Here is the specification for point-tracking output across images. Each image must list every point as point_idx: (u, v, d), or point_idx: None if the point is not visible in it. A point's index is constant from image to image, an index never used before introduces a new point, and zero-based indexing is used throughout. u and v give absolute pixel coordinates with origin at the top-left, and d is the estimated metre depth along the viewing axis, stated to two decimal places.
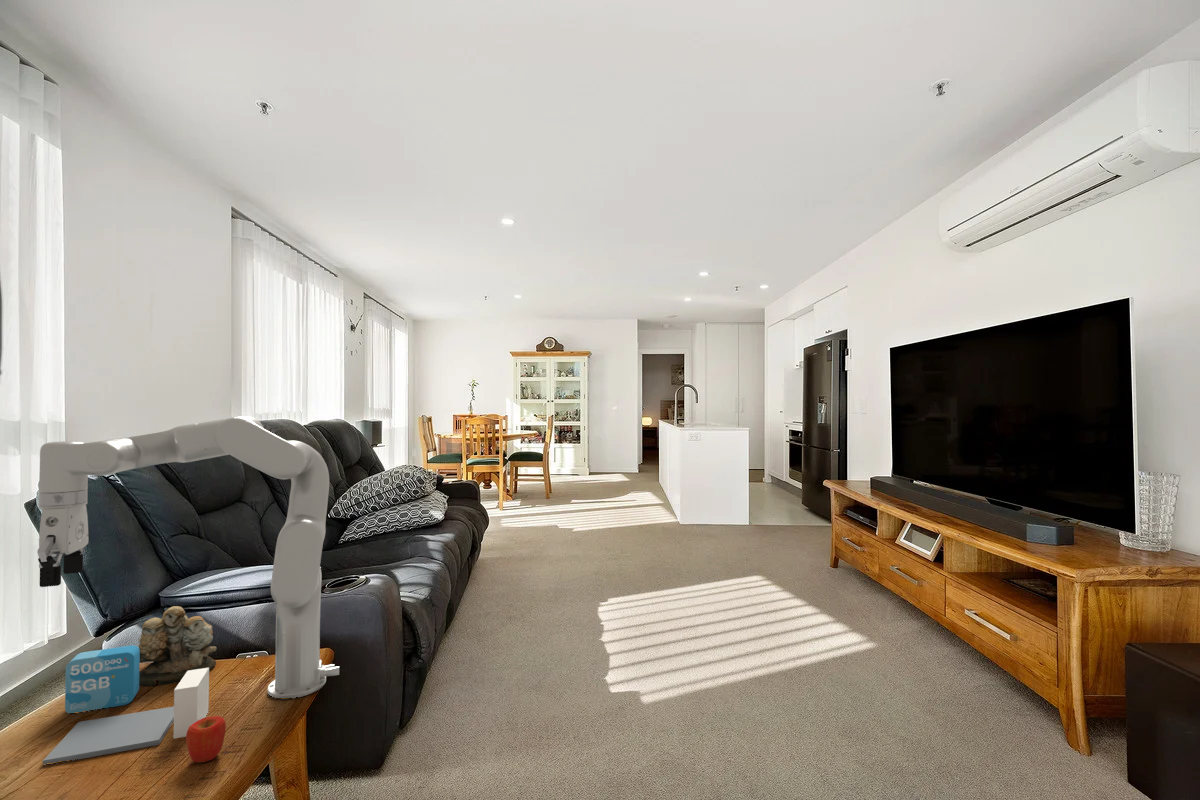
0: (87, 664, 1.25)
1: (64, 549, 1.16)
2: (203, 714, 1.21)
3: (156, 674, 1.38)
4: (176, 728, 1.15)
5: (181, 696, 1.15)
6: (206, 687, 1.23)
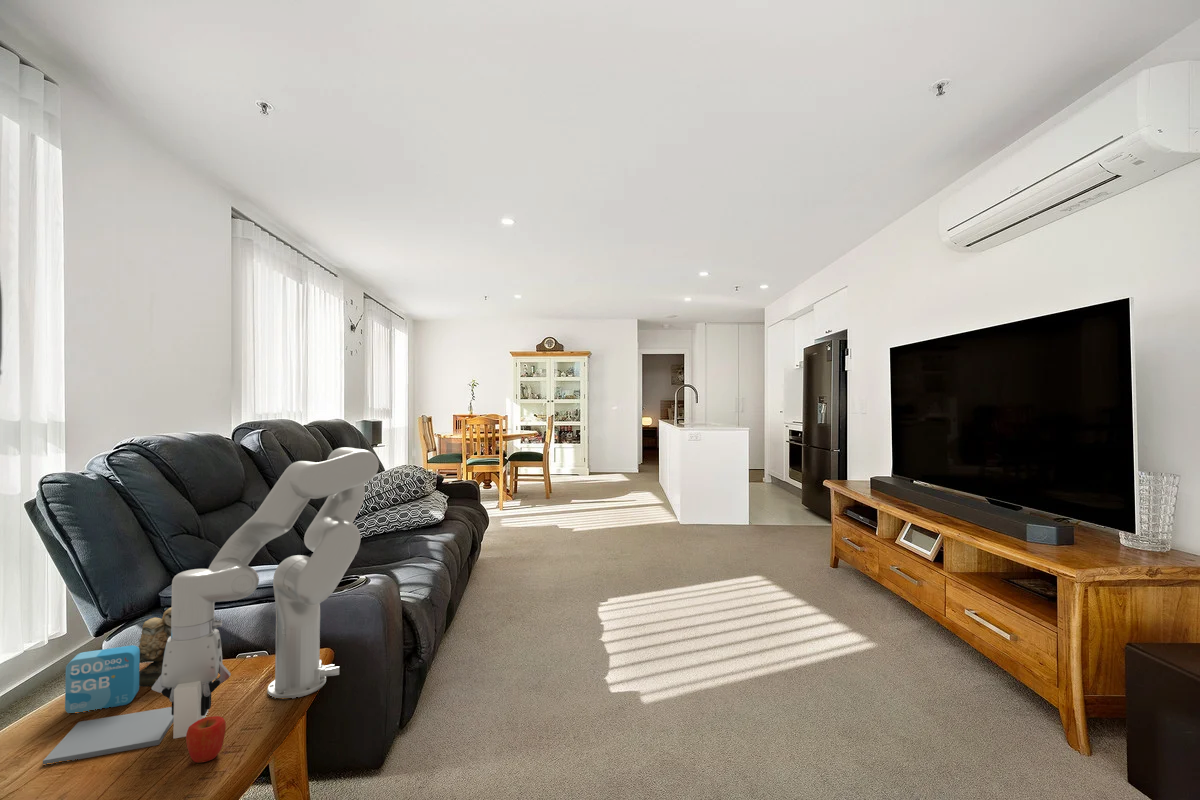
0: (87, 664, 1.25)
1: None
2: None
3: (156, 674, 1.38)
4: (176, 728, 1.15)
5: (181, 696, 1.15)
6: None
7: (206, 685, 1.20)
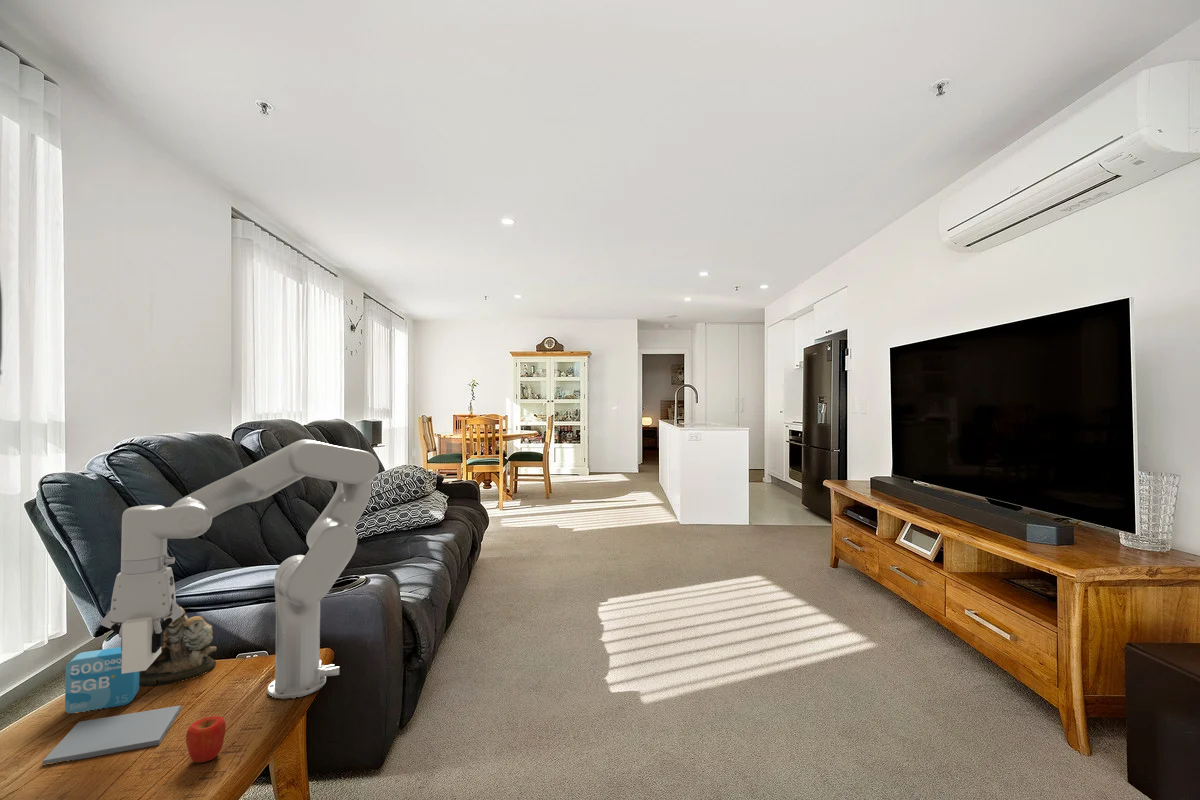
0: (87, 664, 1.25)
1: None
2: None
3: (156, 674, 1.38)
4: (124, 663, 1.13)
5: (130, 630, 1.13)
6: None
7: (157, 622, 1.17)
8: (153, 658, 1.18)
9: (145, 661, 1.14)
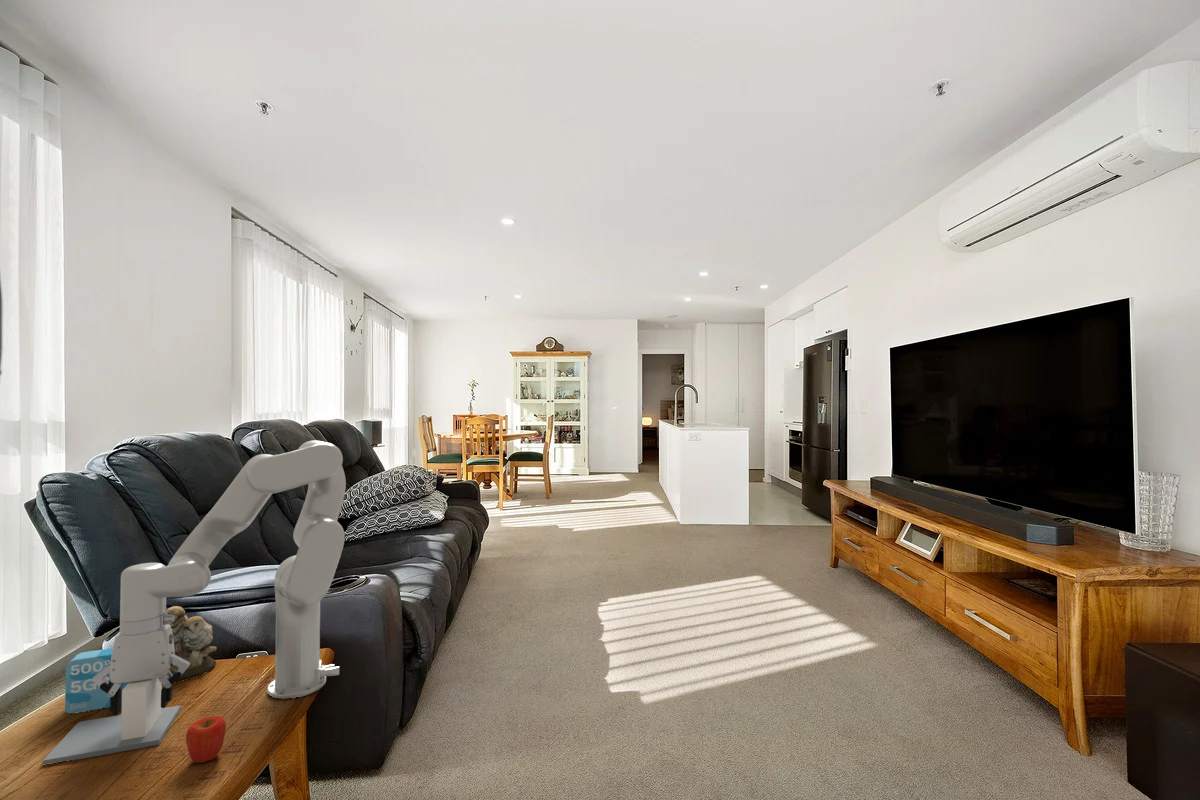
0: (87, 664, 1.25)
1: None
2: (154, 715, 1.19)
3: None
4: (124, 729, 1.13)
5: (129, 697, 1.13)
6: (158, 688, 1.21)
7: (163, 678, 1.18)
8: (153, 722, 1.18)
9: (145, 727, 1.14)
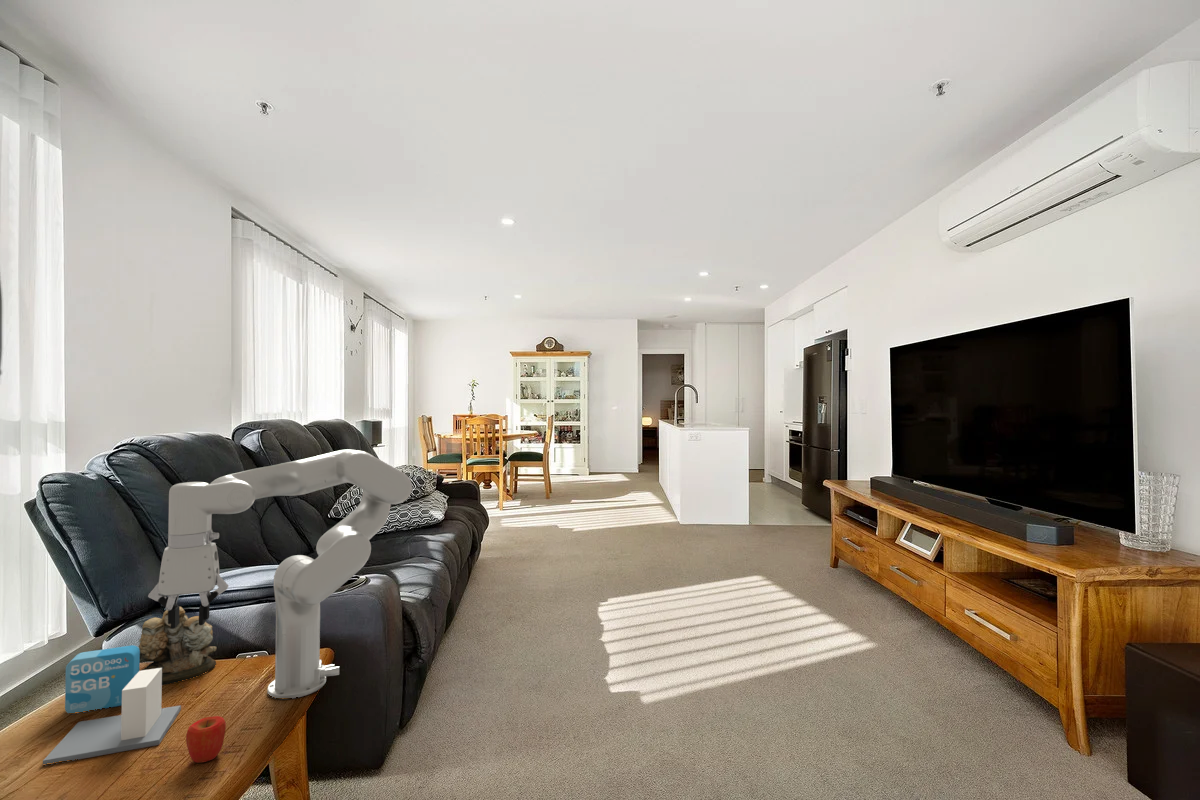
0: (87, 664, 1.25)
1: None
2: (154, 715, 1.19)
3: None
4: (124, 729, 1.13)
5: (129, 697, 1.13)
6: (158, 688, 1.21)
7: (204, 595, 1.21)
8: (153, 722, 1.18)
9: (145, 727, 1.14)
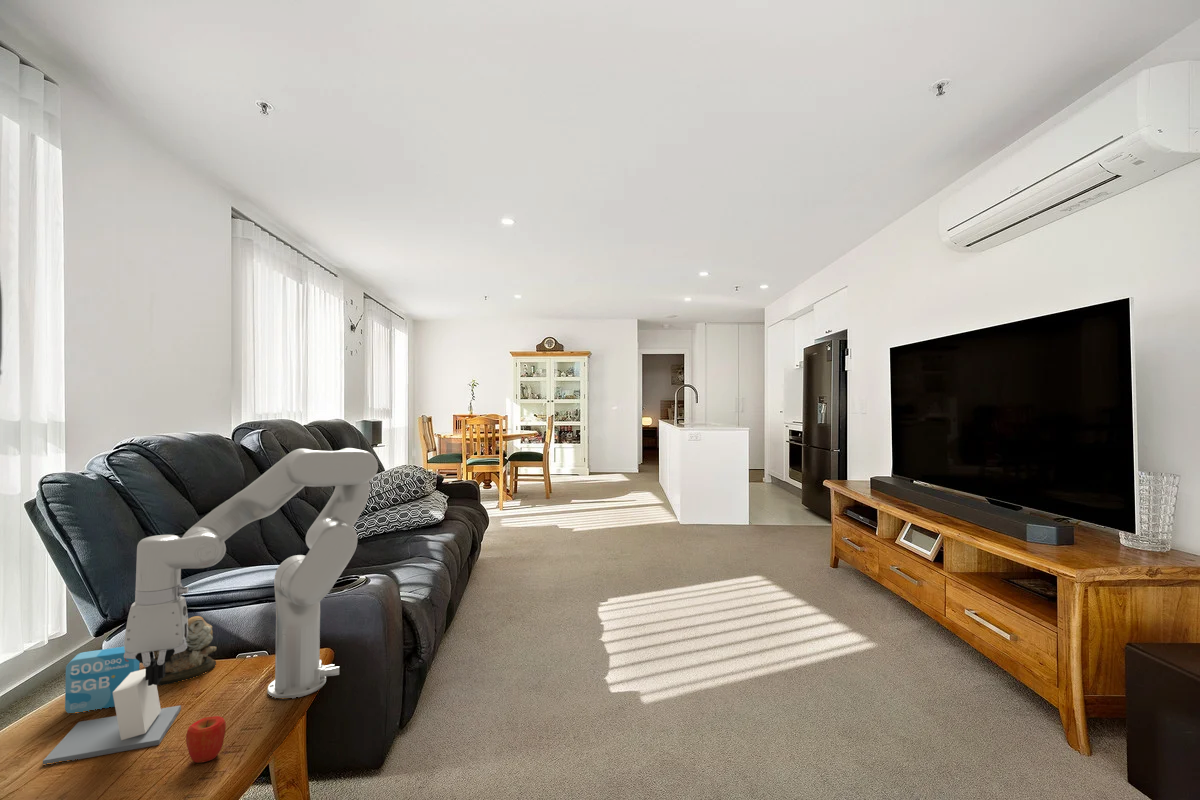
0: (87, 664, 1.25)
1: (187, 634, 1.22)
2: (152, 713, 1.18)
3: None
4: (122, 730, 1.13)
5: (121, 698, 1.13)
6: (152, 686, 1.20)
7: (163, 653, 1.18)
8: (152, 719, 1.18)
9: (143, 724, 1.14)
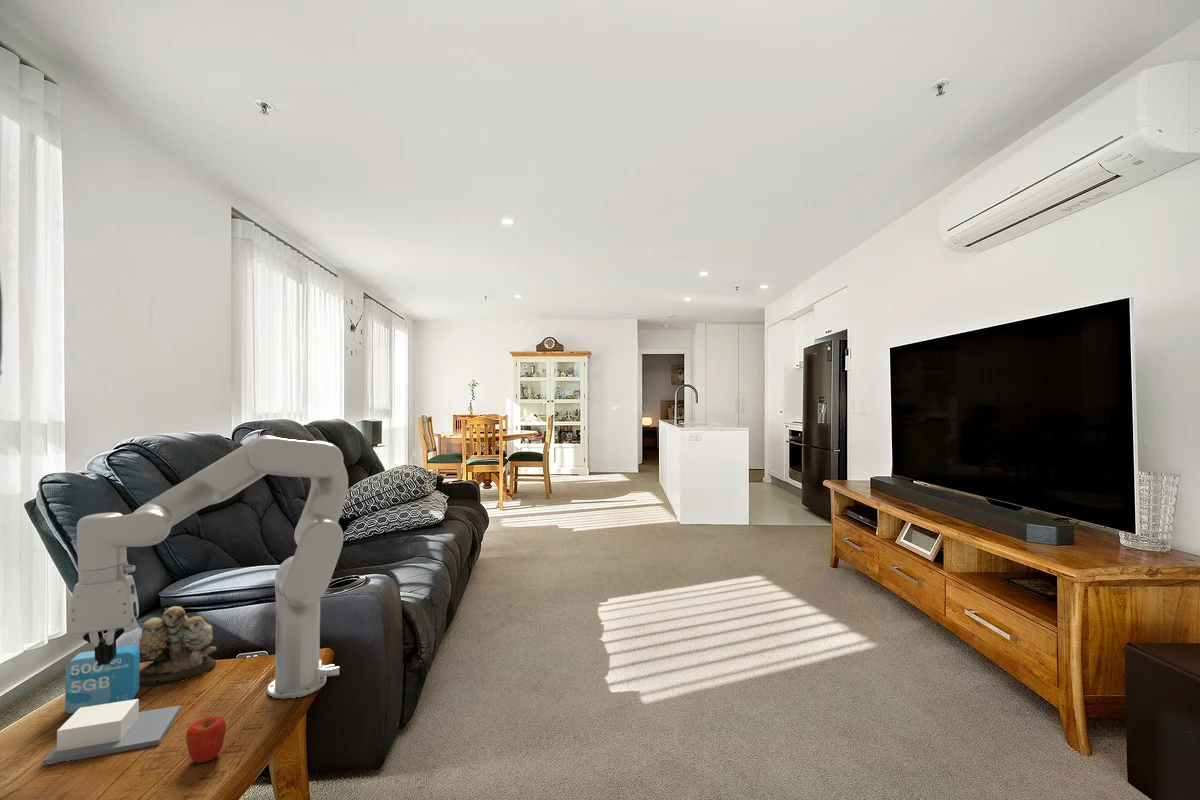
0: (87, 664, 1.25)
1: (138, 613, 1.19)
2: (121, 709, 1.16)
3: (156, 674, 1.38)
4: (108, 740, 1.12)
5: (67, 743, 1.09)
6: (96, 709, 1.17)
7: (112, 633, 1.15)
8: (125, 710, 1.16)
9: (109, 722, 1.12)
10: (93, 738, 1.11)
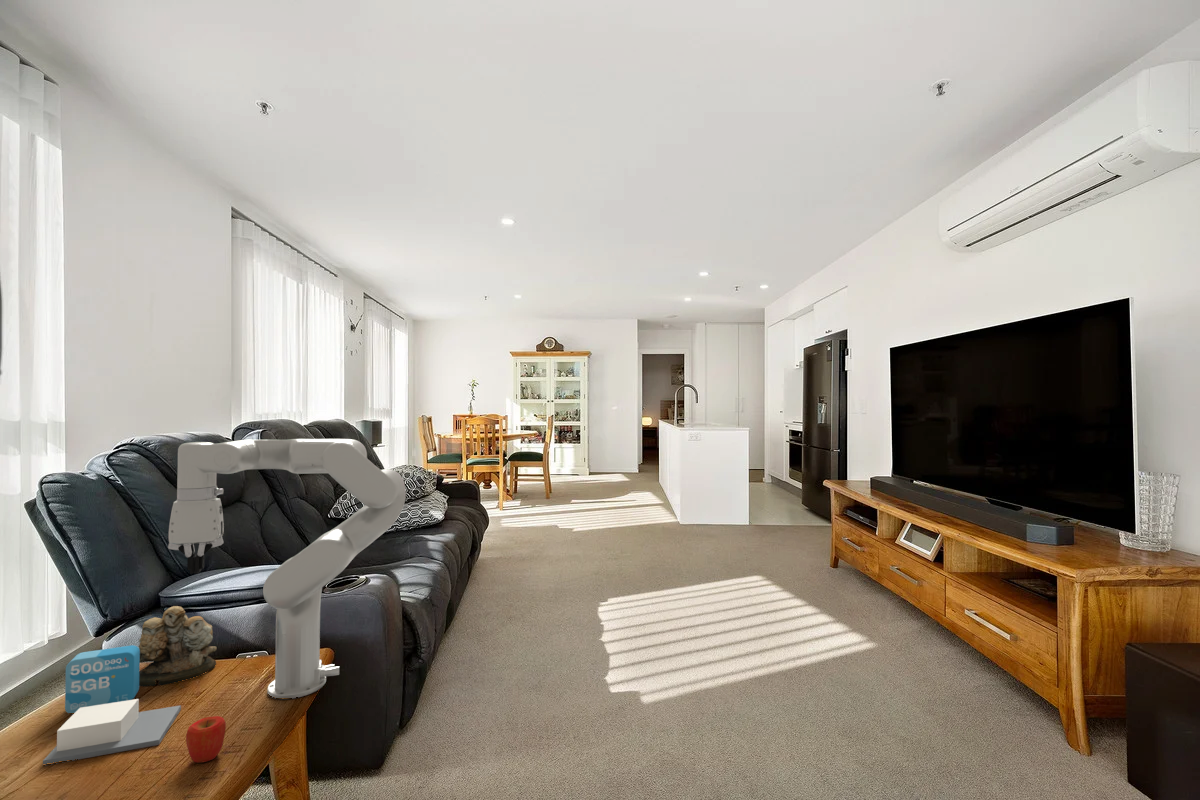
0: (87, 664, 1.25)
1: (223, 532, 1.36)
2: (121, 709, 1.16)
3: (156, 674, 1.38)
4: (108, 740, 1.12)
5: (67, 743, 1.09)
6: (96, 709, 1.17)
7: (202, 546, 1.31)
8: (125, 710, 1.16)
9: (109, 722, 1.12)
10: (93, 738, 1.11)
